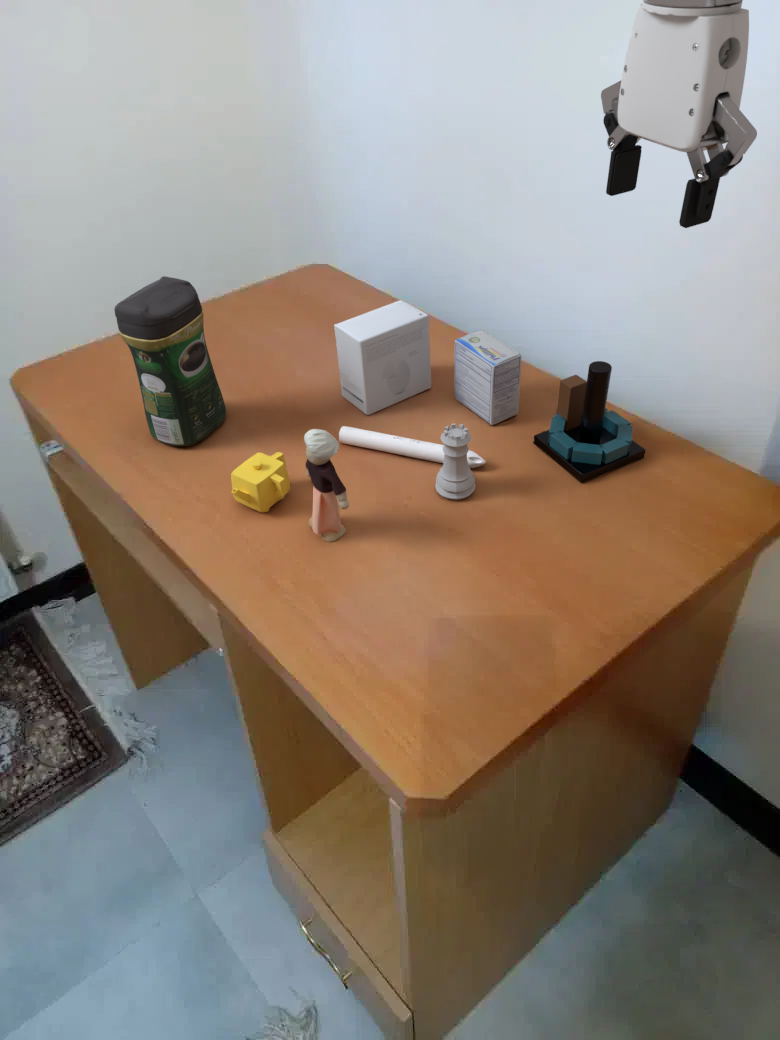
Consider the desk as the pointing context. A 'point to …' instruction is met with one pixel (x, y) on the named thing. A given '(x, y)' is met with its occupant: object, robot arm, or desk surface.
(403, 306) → the cosmetics box
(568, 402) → the teal segmented ring
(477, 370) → the medicine box
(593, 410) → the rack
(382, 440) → the marker
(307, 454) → the grandmother figurine
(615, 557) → the desk surface
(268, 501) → the teapot
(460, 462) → the rook chess piece
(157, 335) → the coffee jar
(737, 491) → the desk surface
